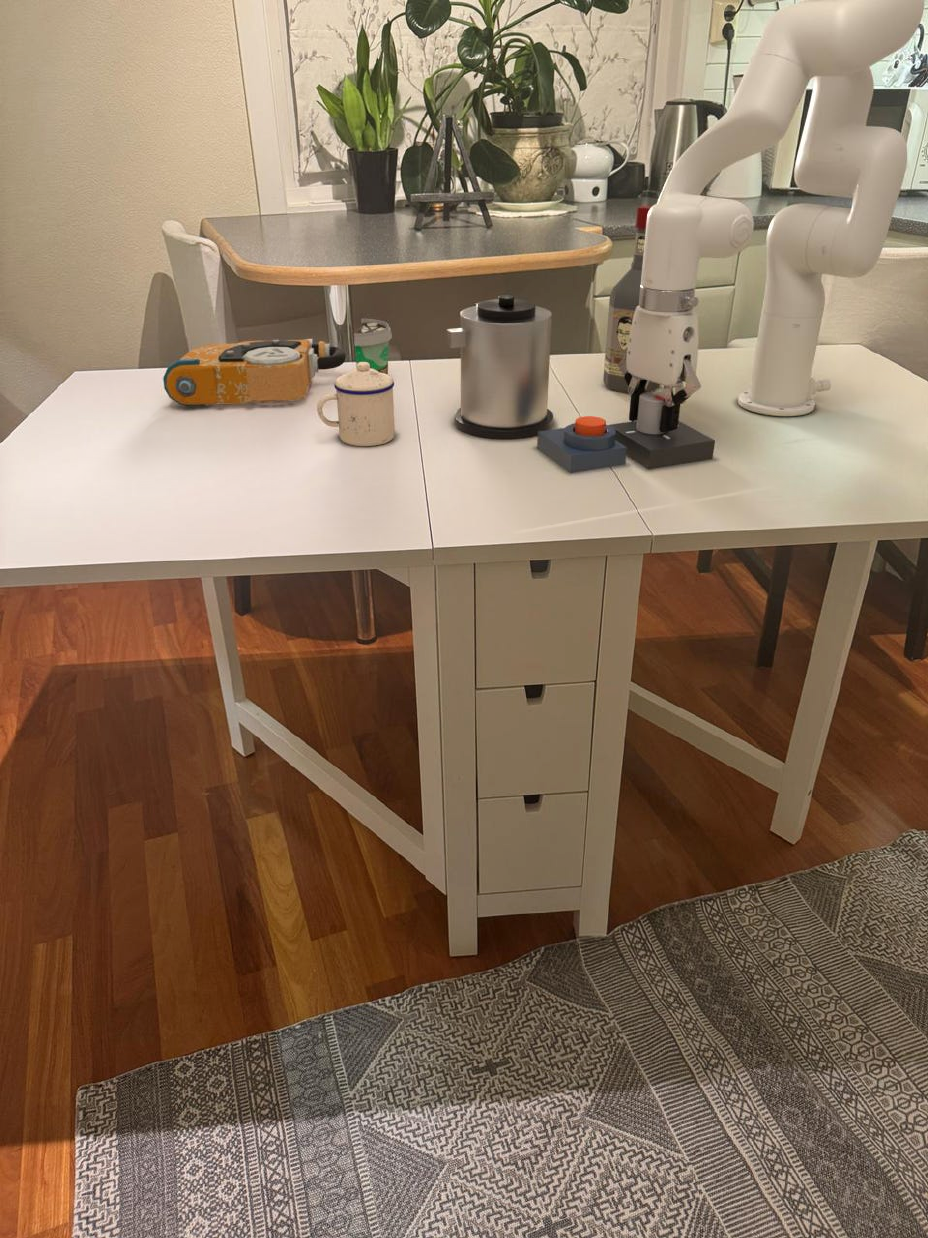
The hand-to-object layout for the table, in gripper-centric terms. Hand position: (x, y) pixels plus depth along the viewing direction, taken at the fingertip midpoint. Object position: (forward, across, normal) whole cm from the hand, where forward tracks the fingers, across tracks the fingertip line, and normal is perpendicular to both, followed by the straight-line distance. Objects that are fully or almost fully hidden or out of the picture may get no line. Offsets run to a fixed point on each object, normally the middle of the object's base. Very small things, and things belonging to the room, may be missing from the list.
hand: (652, 423), depth 136 cm
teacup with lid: (+4, +30, +34) cm, 45 cm away
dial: (+1, 0, 0) cm, 1 cm away
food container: (+4, +55, +15) cm, 57 cm away
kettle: (+4, +24, +11) cm, 27 cm away
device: (+4, +62, +34) cm, 72 cm away
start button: (0, +2, +11) cm, 11 cm away
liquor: (+4, +25, -21) cm, 32 cm away
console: (+4, -2, 0) cm, 4 cm away
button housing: (+4, +4, +11) cm, 12 cm away
